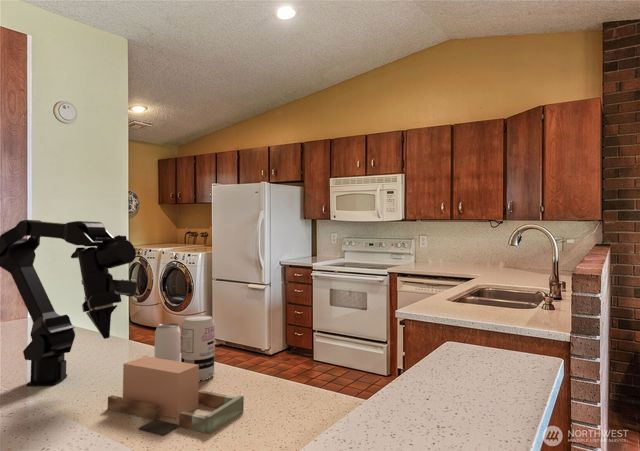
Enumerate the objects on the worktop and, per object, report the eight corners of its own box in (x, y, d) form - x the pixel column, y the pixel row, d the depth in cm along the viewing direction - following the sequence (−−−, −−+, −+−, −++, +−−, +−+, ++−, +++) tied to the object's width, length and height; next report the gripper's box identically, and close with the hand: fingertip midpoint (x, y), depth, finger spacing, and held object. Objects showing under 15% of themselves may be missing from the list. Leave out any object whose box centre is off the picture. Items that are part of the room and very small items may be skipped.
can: (171, 375, 107) (172, 328, 107) (149, 373, 108) (149, 327, 109) (184, 367, 113) (185, 323, 114) (163, 365, 115) (163, 322, 115)
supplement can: (185, 372, 110) (185, 315, 110) (216, 371, 110) (217, 314, 111) (177, 382, 101) (178, 321, 102) (211, 382, 102) (212, 321, 103)
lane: (90, 416, 82) (90, 401, 82) (161, 385, 100) (162, 372, 100) (194, 443, 72) (194, 426, 72) (254, 403, 89) (254, 389, 89)
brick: (122, 406, 88) (123, 363, 88) (144, 396, 93) (145, 356, 93) (177, 419, 82) (178, 373, 82) (198, 408, 87) (198, 364, 87)
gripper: (138, 260, 95) (151, 328, 94) (125, 271, 110) (135, 329, 109) (84, 270, 89) (96, 342, 87) (77, 279, 104) (88, 341, 102)
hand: (106, 338), depth 97 cm, fingers closed
